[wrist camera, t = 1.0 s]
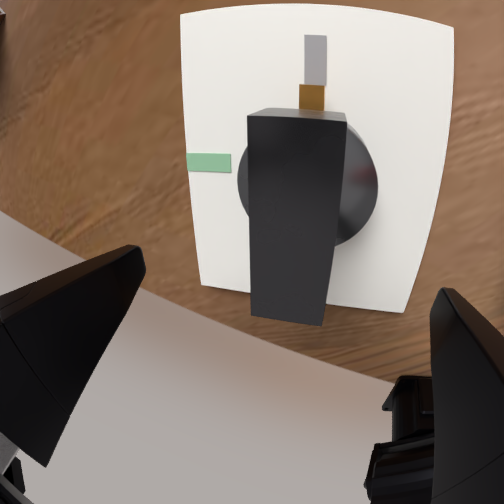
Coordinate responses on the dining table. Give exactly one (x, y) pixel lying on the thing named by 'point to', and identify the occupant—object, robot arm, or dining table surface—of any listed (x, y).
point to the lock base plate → (336, 100)
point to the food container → (1, 15)
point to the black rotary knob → (301, 203)
